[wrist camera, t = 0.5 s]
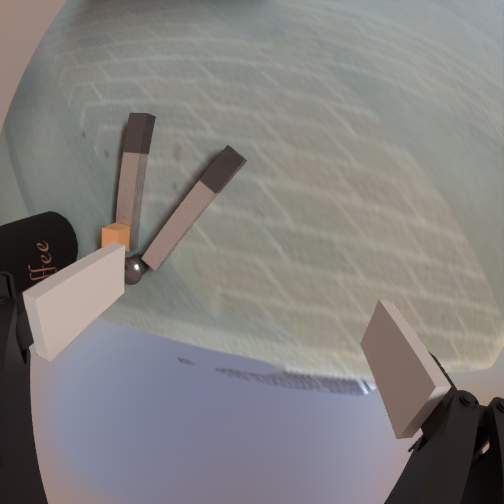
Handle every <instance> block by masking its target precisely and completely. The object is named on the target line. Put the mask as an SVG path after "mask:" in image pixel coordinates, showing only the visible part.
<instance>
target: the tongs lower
mask: <svg viewBox="0 0 504 504" xmlns="http://www.w3.org/2000/svg"><path fill="white" fill-rule="evenodd" d="M155 118H156V117H155V116H153V115H150V114H148V113H130V115H129V120H128V125H127V130H126V136H125V141H124V147H123V158H122V165H121V173H120V181H119V189H118V199H117V211H116V223H119V224H124V225H128V226H130V241H129V249H128V250H126V251H127V252H130V251H132V250H134V249H135V248H137V247H138V235H139V223H140V212H141V203H142V194H143V186H144V179H145V172H146V165H147V159H148V154H149V149H150V143H151V138H152V132H153V127H154V122H155ZM142 257H143V256H142V255H139V254H135V255H133V256H131V257H130V258H125V265H124V282H125V283H127V284H130V285H133V284H136V283H137V282H139V281H140V279H141V276H142V275H143V274H145V273H146V272H147V270H148V264H147V263H146V262H144V261H143V260H142V259H141V258H142Z"/></svg>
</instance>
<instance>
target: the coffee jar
mask: <svg viewBox="0 0 504 504" xmlns="http://www.w3.org/2000/svg"><path fill="white" fill-rule="evenodd" d="M77 254H78V243H77V238H76V234H75V232H74V230H73V227H72V225H71V224H70V223H69V222H68V220H67V219H66V218H64V217H63V216H61V215H60V214H59V213H56V212H51V211H49V212H45V213H42V214H38V215H35V216H31V217H28V218H24V219H21V220H18V221H14V222H11V223H8V224H5V225H2V226H0V272H8V273H11V274H12V275H13V280H14V287H15V292H16V295H17V294H18V293H20V292H22V291H23V290H25V289H27V288H28V287H30V286H32V285H33V284H35V283H37V282H38V281H41V280H42V279H43V278H45V277H47V276H49V275H52V274H55V273H57V272H58V271H60V270H62V269H64V268H66V267H67V266H69V265H71V264H73V263H75V262H76V258H77Z"/></svg>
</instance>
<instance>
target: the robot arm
mask: <svg viewBox="0 0 504 504" xmlns="http://www.w3.org/2000/svg"><path fill="white" fill-rule="evenodd" d="M124 265H125V245H123V244H119V243H115V242H113V243H111V244H109V245H107V246H105V247H103V248H101V249H99V250H97V251H95V252H93V253H91V254H89V255H88V256H86V257H84V258H82V259H80V260H78V261H76V262H75V263H73V264H71V265H69V266H67V267H66V268H64V269H62V270H60V271H58V272H57V273H55V274H52V275H49V276H47V277H45V278H43V279H42V280H41V281H38V282H37V283H35V284H33V285H32V286H30V287H28V288H27V289H25V290H23V291H22V292H20V293H18V294H17V295H16V292H15V287H14V280H13V275H12V274H11V273H8V272H0V504H48V502H47V498H46V495H45V491H44V487H43V483H42V479H41V474H40V470H39V465H38V460H37V454H36V449H35V441H34V434H33V425H32V415H31V397H30V355H31V354H30V350H29V346H30V345H32V344H33V343H34V345H35V349H36V352H37V355H39V356H41V357H42V358H44V359H46V360H47V361H49V362H51V361H52V360H53V359H54V358H55V357H56V356H57V355H58V354H59V353H60V352H61V351H62V350H63V349H64V348H65V347H66V346H67V345H68V344H69V343H70V342H71V341H72V340H73V339H74V338H75V337H76V336H77V335H79V334H80V333H81V332H82V331H83V330H84V329H85V328H86V327H87V326H88V325H89V324H90V323H91V322H92V321H94V320H95V319H96V318H97V317H98V316H99V315H100V314H101V313H102V312H103V311H104V310H106V309H107V308H108V307H109V306H110V305H111V304H112V303H113V302H114V301H116V300H117V299H118V298H119V297H120V296H121V295H122V294H123V293H124ZM360 344H361V346H362V349H363V351H364V354H365V356H366V359H367V361H368V363H369V366H370V368H371V371H372V373H373V376H374V379H375V381H376V384H377V386H378V389H379V391H380V394H381V397H382V399H383V402H384V405H385V408H386V410H387V413H388V416H389V419H390V421H391V424H392V427H393V430H394V433H395V436H396V439H400V438H411V437H413V435H414V434H415V433H416V432H417V431H418V429H419V428H420V427H421V429H422V432H423V435H422V436H421V437H420V438H419V439H418V441H416V442H415V444H414V445H413V446H412V447H411V448H410V449H409V450H408V452H410V451H411V450H412V449H414V450H413V452H412V454H411V456H410V458H409V460H408V462H407V464H406V466H405V468H404V470H403V472H402V474H401V476H400V478H399V479H398V481H397V483H396V485H395V487H394V488H393V490H392V491H391V493H390V495H389V496H388V498H387V500H386V501H385V503H384V504H504V399H502V398H499V397H495V398H493V400H492V401H491V402H490V404H489V405H488V406H482V405H479V402H478V400H477V399H476V397H475V396H473V395H472V394H471V393H469V392H467V391H464V390H459V391H458V390H457V389H456V387H455V385H454V384H453V383H452V381H451V379H450V378H449V376H448V375H447V373H445V370H444V369H443V367H441V365H440V363H439V362H438V360H437V359H436V358H435V357H434V356H433V355H432V354H431V353H430V352H429V351H427V349H426V348H425V346H424V345H423V343H422V342H421V341H420V339H419V338H418V336H417V335H416V334H415V332H414V331H413V330H412V328H411V327H410V326H409V324H408V323H407V321H406V320H405V319H404V317H403V316H402V315H401V313H400V312H399V311H398V310H397V308H396V307H395V306H394V304H393V303H392V302H391V301H386V300H380V299H379V300H378V303H377V305H376V308H375V311H374V313H373V315H372V318H371V320H370V323H369V325H368V327H367V330H366V332H365V334H364V337H363V339H362V341H361V343H360ZM488 443H489V449H488V450H487V451H486V452H485V453H484V454H483V453H482V449H483V448H484V447H485V446H486V445H487V444H488Z"/></svg>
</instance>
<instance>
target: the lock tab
mask: <svg viewBox="0 0 504 504" xmlns="http://www.w3.org/2000/svg"><path fill="white" fill-rule="evenodd" d="M129 241H130V226H128V225H124V224H119V223H113V224H110V225H108V226H105V227H103V228H102V248H103V247H105V246H107V245H109V244H111V243H113V242H115V243H119V244H123V245H125V251H126V250H128V249H129Z"/></svg>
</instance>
